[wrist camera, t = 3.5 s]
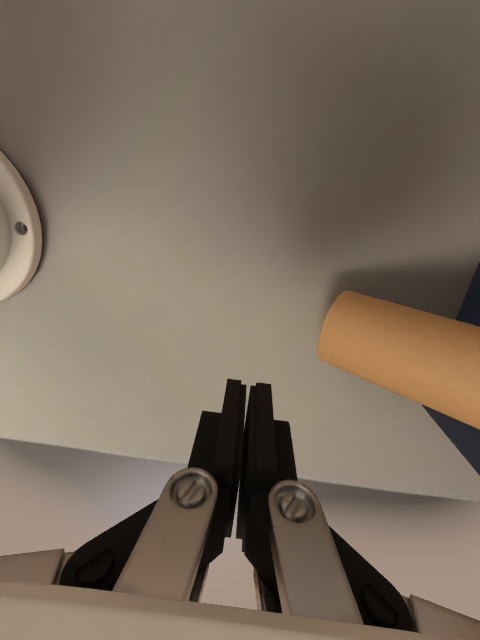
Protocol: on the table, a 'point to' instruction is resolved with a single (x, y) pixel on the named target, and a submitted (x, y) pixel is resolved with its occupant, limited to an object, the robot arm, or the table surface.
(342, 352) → the orange-brown cylinder
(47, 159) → the table surface
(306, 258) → the table surface
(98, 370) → the table surface
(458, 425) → the navy box
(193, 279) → the table surface
